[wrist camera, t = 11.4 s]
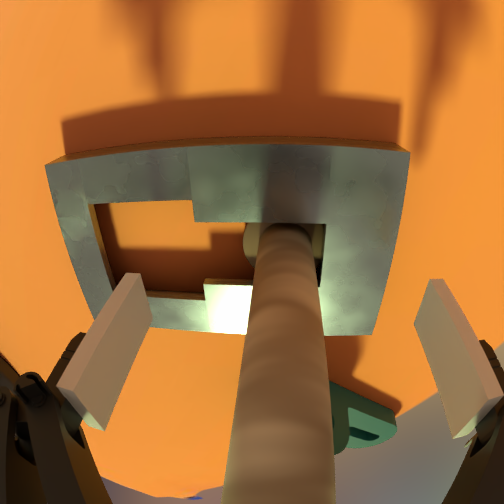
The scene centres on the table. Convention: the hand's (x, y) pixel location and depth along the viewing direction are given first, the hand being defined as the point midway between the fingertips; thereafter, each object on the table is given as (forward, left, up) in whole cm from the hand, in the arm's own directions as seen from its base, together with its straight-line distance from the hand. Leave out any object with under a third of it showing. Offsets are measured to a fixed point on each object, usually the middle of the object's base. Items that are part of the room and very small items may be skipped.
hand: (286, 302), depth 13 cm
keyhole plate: (-4, 0, -6) cm, 7 cm away
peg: (0, 0, -6) cm, 6 cm away
